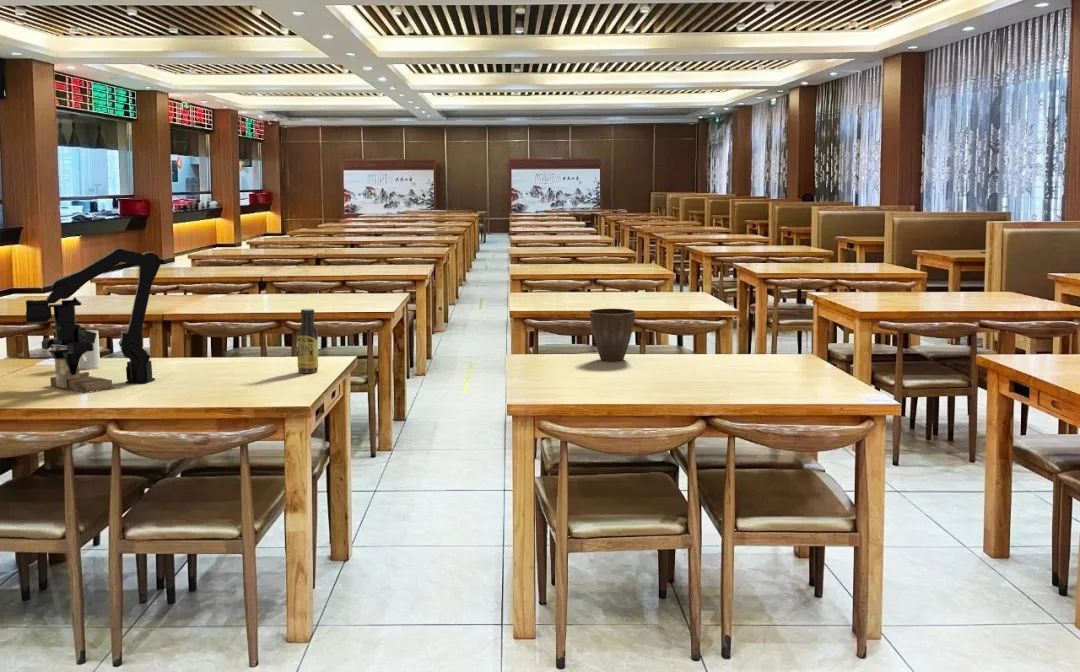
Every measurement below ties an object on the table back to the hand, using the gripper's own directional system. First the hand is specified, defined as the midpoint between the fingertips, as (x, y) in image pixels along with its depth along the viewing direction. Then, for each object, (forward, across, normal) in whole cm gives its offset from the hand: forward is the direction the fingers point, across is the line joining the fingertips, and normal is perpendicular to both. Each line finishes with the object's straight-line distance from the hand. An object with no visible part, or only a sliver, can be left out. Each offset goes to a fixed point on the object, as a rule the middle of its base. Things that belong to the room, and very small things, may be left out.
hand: (69, 374), depth 320 cm
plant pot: (+5, -107, -127) cm, 166 cm away
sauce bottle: (+4, -40, -56) cm, 69 cm away
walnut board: (+4, -2, -2) cm, 5 cm away
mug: (+4, +28, -22) cm, 35 cm away
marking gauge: (+3, 0, -1) cm, 4 cm away
